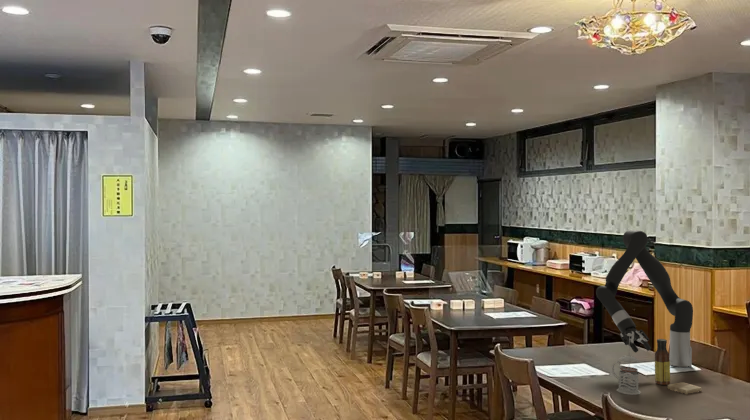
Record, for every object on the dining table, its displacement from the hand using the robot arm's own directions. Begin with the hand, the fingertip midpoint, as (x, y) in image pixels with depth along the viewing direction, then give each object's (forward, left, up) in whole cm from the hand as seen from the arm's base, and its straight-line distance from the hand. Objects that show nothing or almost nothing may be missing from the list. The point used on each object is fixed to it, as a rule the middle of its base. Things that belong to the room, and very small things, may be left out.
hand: (643, 350), depth 298 cm
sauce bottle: (-4, +10, -13) cm, 17 cm away
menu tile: (-7, +15, -12) cm, 21 cm away
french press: (+17, +20, -13) cm, 30 cm away
